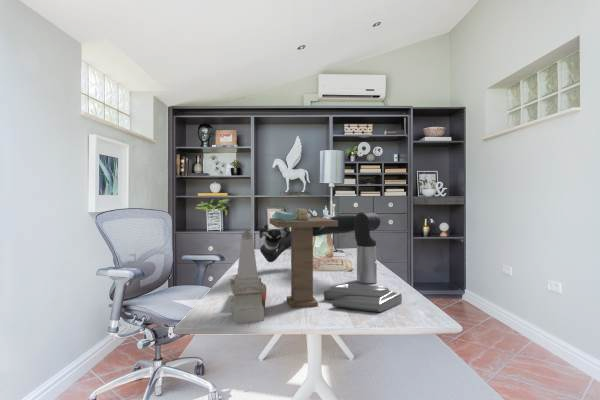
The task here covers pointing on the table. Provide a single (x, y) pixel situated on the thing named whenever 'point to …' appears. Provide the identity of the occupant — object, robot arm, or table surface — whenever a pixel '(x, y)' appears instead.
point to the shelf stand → (302, 255)
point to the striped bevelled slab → (362, 297)
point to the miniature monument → (247, 285)
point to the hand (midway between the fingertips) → (276, 226)
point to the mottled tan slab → (332, 264)
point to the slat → (284, 216)
